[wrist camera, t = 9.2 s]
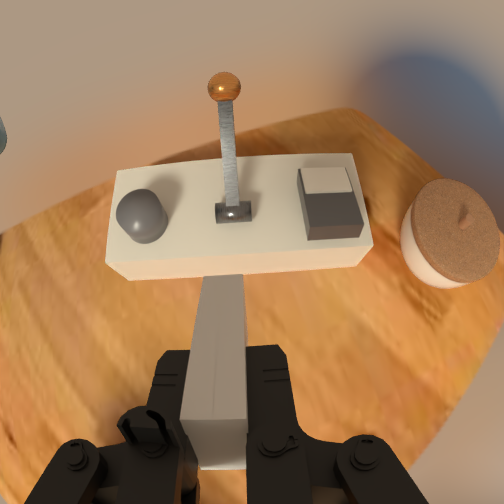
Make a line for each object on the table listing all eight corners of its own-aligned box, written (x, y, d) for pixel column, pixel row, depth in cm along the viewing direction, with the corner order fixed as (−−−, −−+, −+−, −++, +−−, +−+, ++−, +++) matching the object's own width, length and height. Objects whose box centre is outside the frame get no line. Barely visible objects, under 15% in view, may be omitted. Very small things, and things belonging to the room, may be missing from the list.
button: (125, 245, 28) (113, 233, 25) (129, 206, 29) (118, 191, 26) (167, 242, 28) (158, 229, 25) (169, 202, 29) (161, 186, 26)
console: (128, 280, 33) (105, 262, 27) (135, 196, 36) (117, 168, 31) (355, 266, 33) (373, 245, 27) (339, 182, 36) (351, 151, 31)
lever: (216, 228, 27) (202, 72, 21) (218, 218, 29) (205, 75, 24) (252, 226, 27) (242, 68, 21) (251, 215, 29) (242, 72, 24)
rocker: (307, 240, 26) (310, 225, 24) (296, 182, 29) (298, 166, 27) (359, 237, 26) (365, 222, 24) (342, 181, 29) (346, 165, 27)
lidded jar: (394, 198, 36) (426, 152, 27) (466, 230, 34) (508, 194, 25) (376, 281, 32) (414, 250, 23) (456, 311, 31) (507, 290, 22)
